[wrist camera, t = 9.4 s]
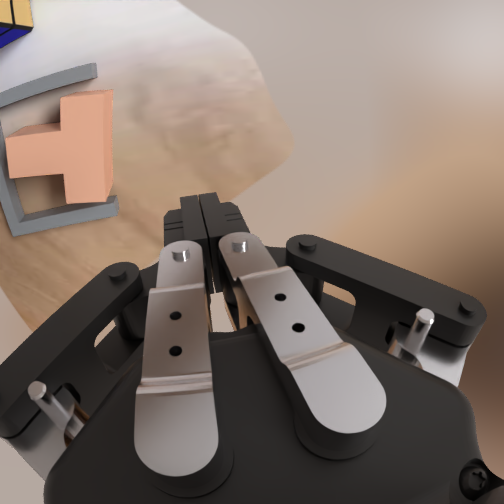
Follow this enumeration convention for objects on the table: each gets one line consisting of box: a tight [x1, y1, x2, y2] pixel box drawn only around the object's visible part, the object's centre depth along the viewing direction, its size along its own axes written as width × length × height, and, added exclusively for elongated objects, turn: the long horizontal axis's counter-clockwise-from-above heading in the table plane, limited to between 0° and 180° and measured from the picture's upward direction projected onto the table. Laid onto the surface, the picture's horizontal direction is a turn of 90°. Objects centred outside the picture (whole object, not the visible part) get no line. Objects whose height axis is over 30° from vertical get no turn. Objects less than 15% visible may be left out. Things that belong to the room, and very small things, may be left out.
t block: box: [5, 90, 113, 204], centre depth 25 cm, size 10×10×5 cm
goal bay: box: [0, 63, 119, 237], centre depth 27 cm, size 14×16×2 cm
